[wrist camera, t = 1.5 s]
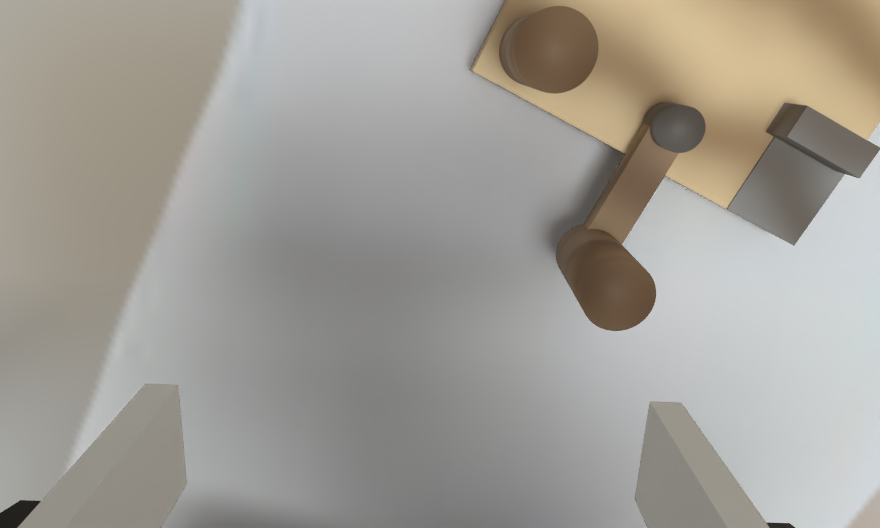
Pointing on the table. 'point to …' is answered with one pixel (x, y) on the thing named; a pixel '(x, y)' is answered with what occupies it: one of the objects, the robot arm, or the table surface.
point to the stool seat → (710, 88)
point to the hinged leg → (625, 222)
